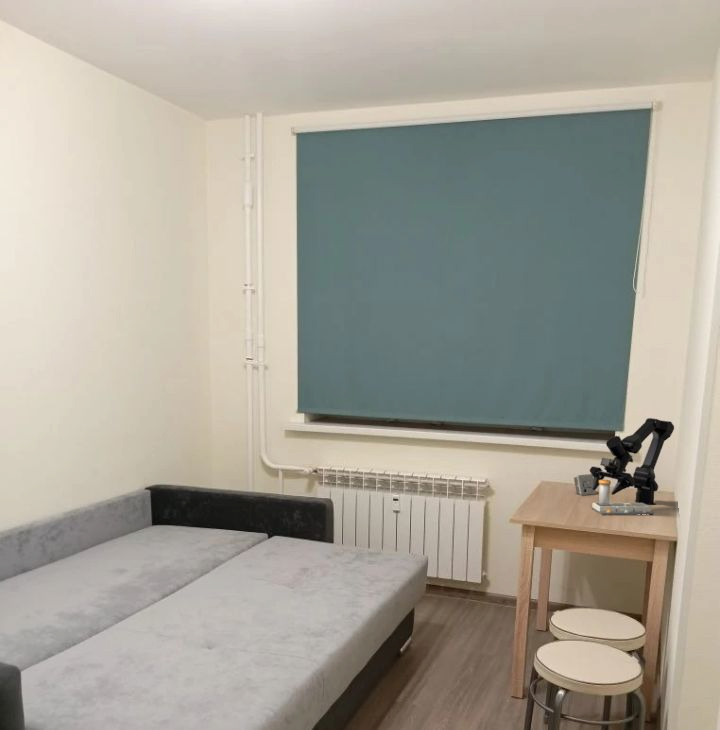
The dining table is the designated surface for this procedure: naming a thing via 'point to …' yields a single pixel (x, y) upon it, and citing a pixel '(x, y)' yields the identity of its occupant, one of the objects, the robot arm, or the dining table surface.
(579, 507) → the dining table surface
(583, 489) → the electrical switch
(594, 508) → the grey compartment tray
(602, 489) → the plug
